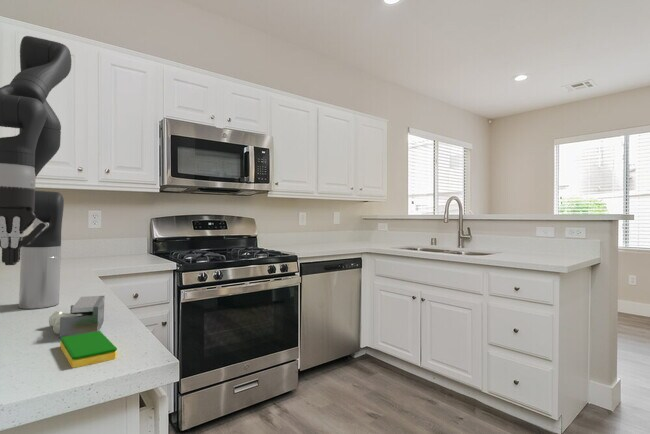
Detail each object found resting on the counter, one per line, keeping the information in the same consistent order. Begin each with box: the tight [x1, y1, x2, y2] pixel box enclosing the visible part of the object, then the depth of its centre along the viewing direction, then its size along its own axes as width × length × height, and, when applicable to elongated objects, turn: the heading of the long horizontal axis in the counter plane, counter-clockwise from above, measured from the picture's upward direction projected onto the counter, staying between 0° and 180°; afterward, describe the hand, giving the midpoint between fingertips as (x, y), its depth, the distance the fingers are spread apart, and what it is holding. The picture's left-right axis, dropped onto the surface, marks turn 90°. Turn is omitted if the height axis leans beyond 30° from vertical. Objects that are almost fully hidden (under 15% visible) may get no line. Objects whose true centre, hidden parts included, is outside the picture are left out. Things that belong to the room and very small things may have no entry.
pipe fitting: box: [48, 311, 84, 335], centre depth 85 cm, size 8×4×7 cm
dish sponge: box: [59, 330, 118, 369], centre depth 72 cm, size 7×14×2 cm, turn 44°
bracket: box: [59, 295, 105, 340], centre depth 86 cm, size 12×7×6 cm, turn 25°
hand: (10, 264), depth 80 cm, fingers closed
